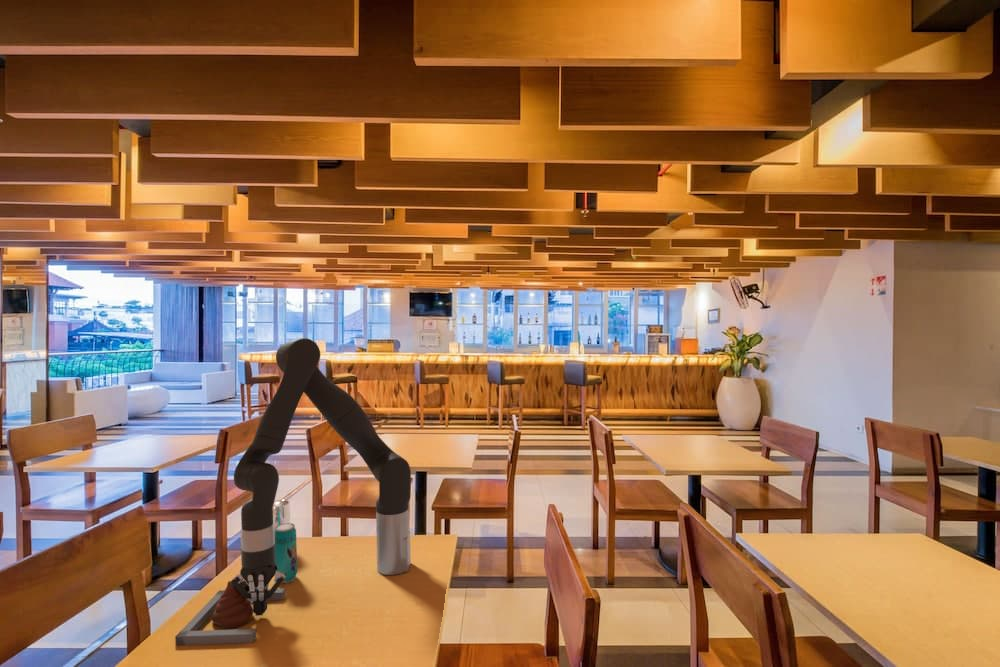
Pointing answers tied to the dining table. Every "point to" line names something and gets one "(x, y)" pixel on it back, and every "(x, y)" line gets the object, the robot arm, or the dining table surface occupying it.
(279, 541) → the beverage can
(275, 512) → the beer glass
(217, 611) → the poop emoji
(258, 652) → the dining table surface
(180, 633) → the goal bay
